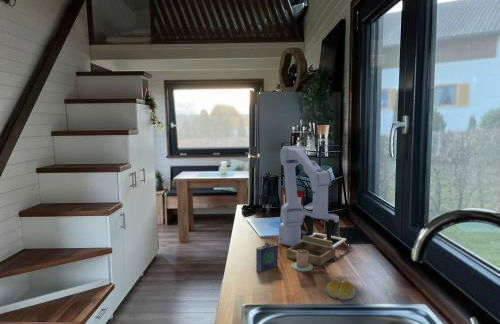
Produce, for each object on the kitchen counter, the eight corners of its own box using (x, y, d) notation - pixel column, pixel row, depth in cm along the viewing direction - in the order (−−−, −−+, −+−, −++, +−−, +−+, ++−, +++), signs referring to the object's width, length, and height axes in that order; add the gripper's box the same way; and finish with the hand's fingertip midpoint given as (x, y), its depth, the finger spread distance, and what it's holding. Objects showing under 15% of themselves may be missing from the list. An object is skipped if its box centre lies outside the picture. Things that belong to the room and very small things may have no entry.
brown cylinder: (294, 266, 135) (294, 251, 135) (299, 262, 139) (300, 248, 138) (305, 268, 133) (305, 254, 132) (310, 264, 136) (310, 250, 136)
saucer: (287, 268, 135) (287, 266, 135) (298, 261, 142) (298, 259, 141) (306, 274, 130) (306, 271, 130) (316, 266, 137) (316, 264, 137)
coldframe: (286, 257, 146) (286, 249, 146) (302, 248, 156) (302, 240, 156) (320, 266, 137) (320, 257, 136) (335, 256, 147) (335, 248, 147)
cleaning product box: (303, 229, 183) (304, 191, 181) (286, 230, 182) (286, 191, 180) (296, 220, 199) (296, 185, 197) (280, 221, 198) (280, 185, 196)
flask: (258, 273, 131) (258, 244, 130) (254, 270, 134) (254, 242, 133) (279, 267, 136) (279, 240, 135) (274, 265, 139) (274, 238, 137)
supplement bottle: (339, 242, 163) (340, 216, 162) (324, 241, 165) (324, 216, 163) (338, 237, 170) (339, 213, 168) (324, 237, 171) (324, 212, 170)
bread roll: (330, 285, 122) (331, 274, 121) (357, 292, 117) (357, 280, 116) (321, 295, 115) (321, 283, 114) (349, 303, 110) (349, 291, 109)
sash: (300, 241, 154) (300, 235, 154) (314, 233, 164) (315, 228, 164) (333, 248, 145) (333, 242, 145) (346, 240, 155) (346, 234, 155)
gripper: (298, 201, 139) (298, 236, 140) (333, 207, 130) (332, 243, 132) (307, 198, 144) (306, 231, 146) (341, 203, 136) (340, 238, 137)
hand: (319, 237), depth 139 cm, fingers open, 7 cm apart
